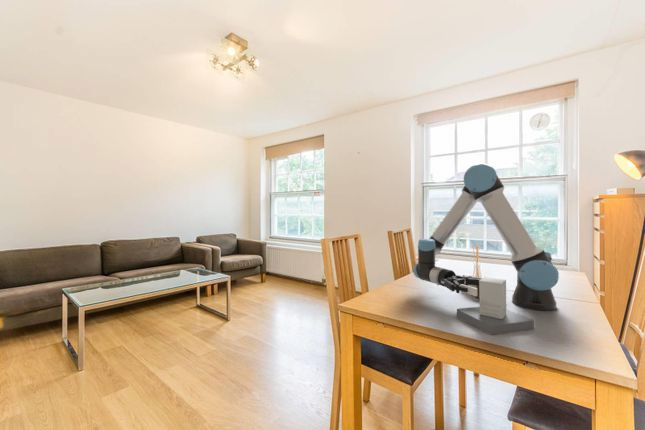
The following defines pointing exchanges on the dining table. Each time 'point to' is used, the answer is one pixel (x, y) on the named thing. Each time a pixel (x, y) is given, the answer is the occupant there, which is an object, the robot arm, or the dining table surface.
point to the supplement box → (492, 297)
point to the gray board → (495, 321)
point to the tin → (475, 287)
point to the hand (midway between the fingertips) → (489, 290)
